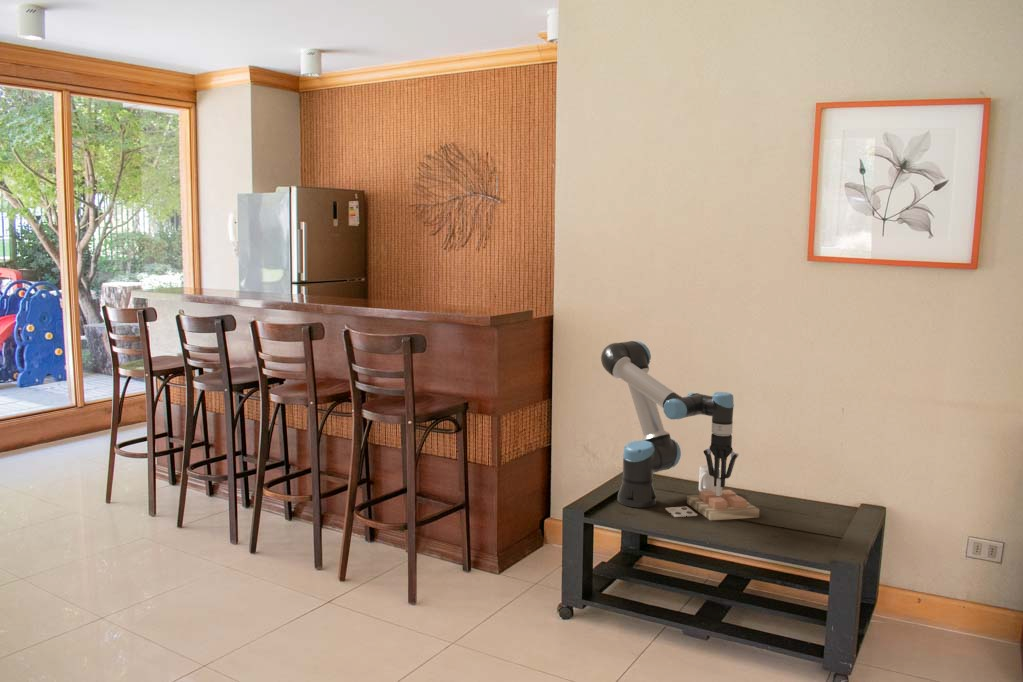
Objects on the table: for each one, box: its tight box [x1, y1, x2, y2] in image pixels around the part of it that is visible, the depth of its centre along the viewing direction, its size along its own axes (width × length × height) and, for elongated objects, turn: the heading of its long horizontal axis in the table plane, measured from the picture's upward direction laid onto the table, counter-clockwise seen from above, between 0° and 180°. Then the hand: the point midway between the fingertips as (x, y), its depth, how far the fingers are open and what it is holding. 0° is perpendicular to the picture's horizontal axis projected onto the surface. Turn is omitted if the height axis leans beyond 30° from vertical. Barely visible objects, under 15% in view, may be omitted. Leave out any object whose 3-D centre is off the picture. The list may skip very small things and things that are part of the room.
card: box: [664, 506, 698, 518], centre depth 313 cm, size 9×9×1 cm
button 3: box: [718, 489, 737, 501], centre depth 321 cm, size 5×5×4 cm
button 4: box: [728, 495, 748, 508], centre depth 313 cm, size 5×5×4 cm
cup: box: [698, 464, 721, 493], centre depth 337 cm, size 8×12×10 cm
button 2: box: [709, 497, 727, 509], centre depth 312 cm, size 5×5×4 cm
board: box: [686, 494, 760, 521], centre depth 317 cm, size 20×20×3 cm
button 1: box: [698, 491, 717, 502], centre depth 319 cm, size 5×5×4 cm
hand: (718, 494), depth 311 cm, fingers closed
